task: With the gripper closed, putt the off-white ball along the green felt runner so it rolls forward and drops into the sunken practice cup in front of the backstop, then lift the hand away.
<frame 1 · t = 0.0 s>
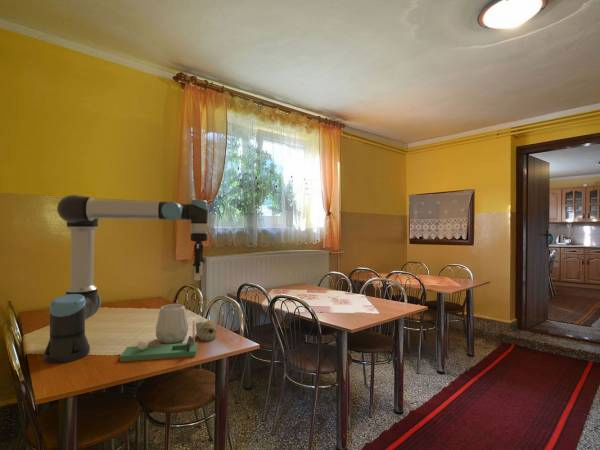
hand: (198, 277, 159), 28 cm above the table, fingers open, 13 cm apart
vase: (172, 339, 155), on the table
ball: (142, 350, 137), point 2 cm above the table, touching green
green: (160, 353, 138), on the table
seashell: (205, 337, 160), on the table
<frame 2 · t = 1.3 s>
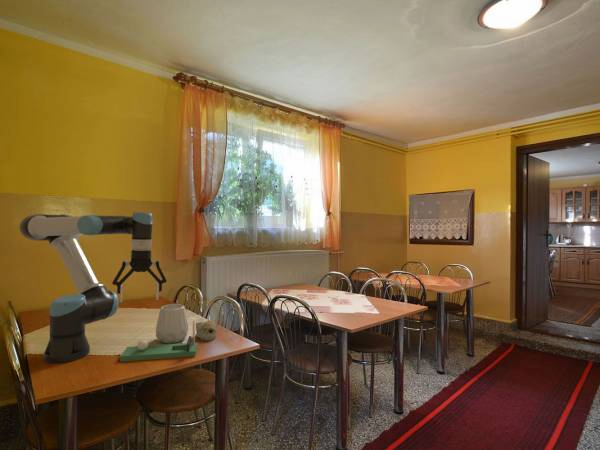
hand: (139, 300, 140), 21 cm above the table, fingers open, 13 cm apart
nothing on the table moved.
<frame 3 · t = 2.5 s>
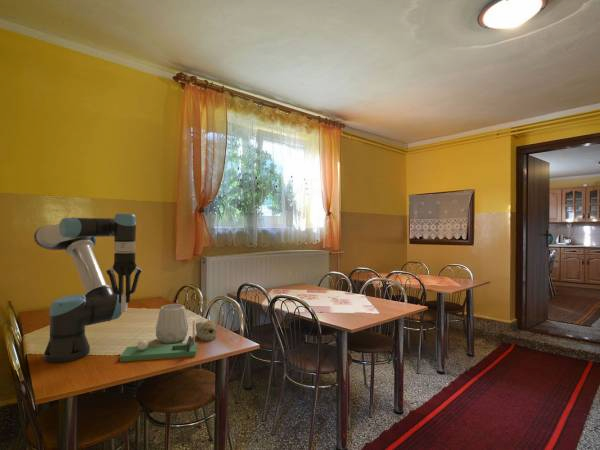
hand: (124, 310, 135), 18 cm above the table, fingers closed
nothing on the table moved.
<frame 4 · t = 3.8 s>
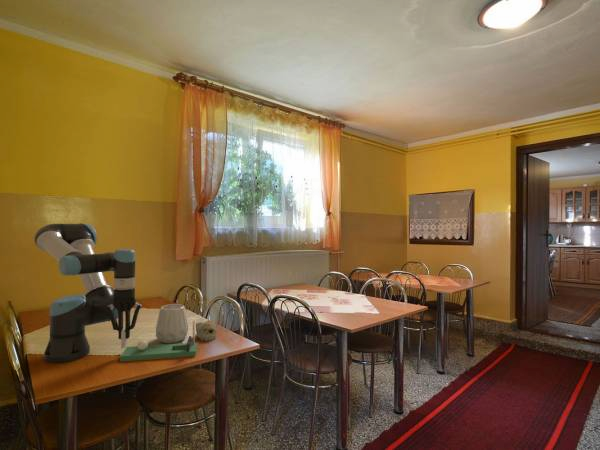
hand: (124, 346, 135), 4 cm above the table, fingers closed
nothing on the table moved.
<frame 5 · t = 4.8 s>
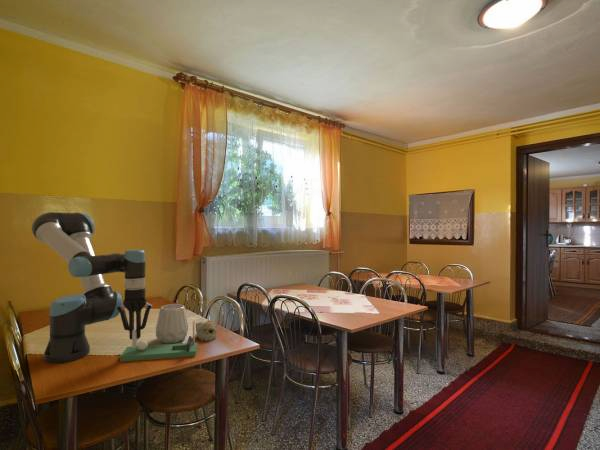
hand: (135, 346, 136), 4 cm above the table, fingers closed
ball: (142, 350, 137), point 2 cm above the table, touching green, gripper
everything else where it was.
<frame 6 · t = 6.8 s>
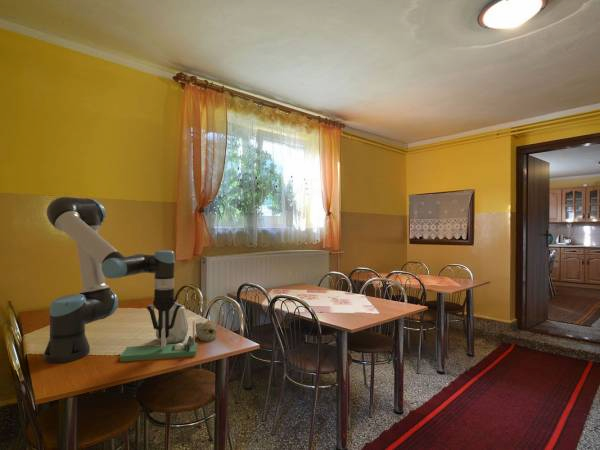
hand: (163, 345, 138), 3 cm above the table, fingers closed
ball: (174, 350, 139), point 1 cm above the table, tilted 71°
everything else where it was.
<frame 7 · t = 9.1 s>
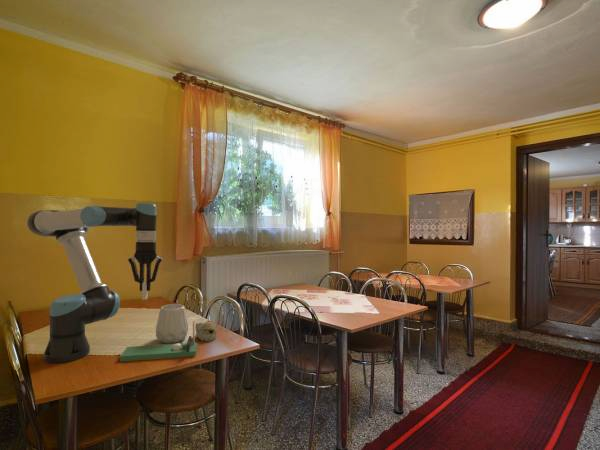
hand: (144, 298, 137), 23 cm above the table, fingers closed
ball: (173, 351, 139), point 1 cm above the table, tilted 46°
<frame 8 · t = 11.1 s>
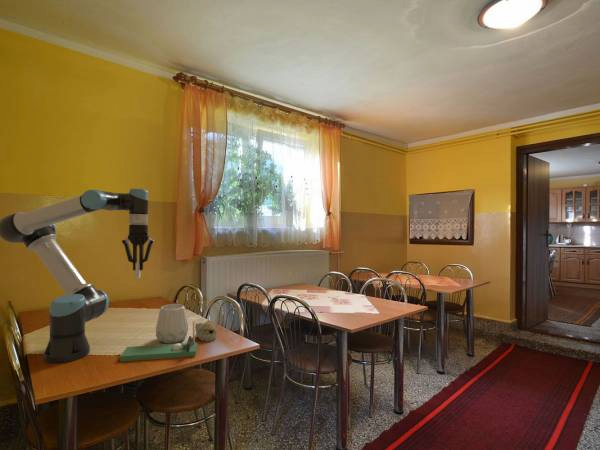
hand: (137, 277, 148), 29 cm above the table, fingers closed
at the end: ball 2.1 cm from the target spot on the green, point 0.7 cm above the green's base; ball touching table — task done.
